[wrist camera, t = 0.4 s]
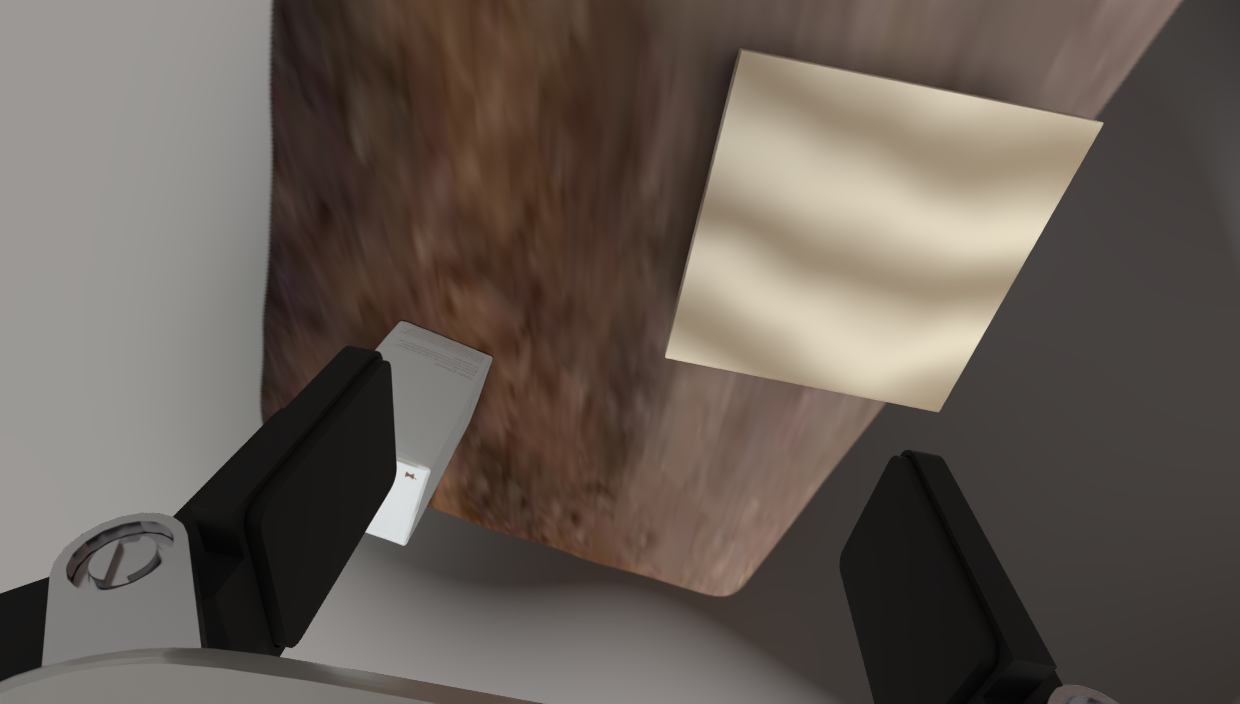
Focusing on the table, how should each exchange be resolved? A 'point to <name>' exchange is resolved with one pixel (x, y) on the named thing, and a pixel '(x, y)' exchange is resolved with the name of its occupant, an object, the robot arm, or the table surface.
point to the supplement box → (425, 418)
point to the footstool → (864, 227)
